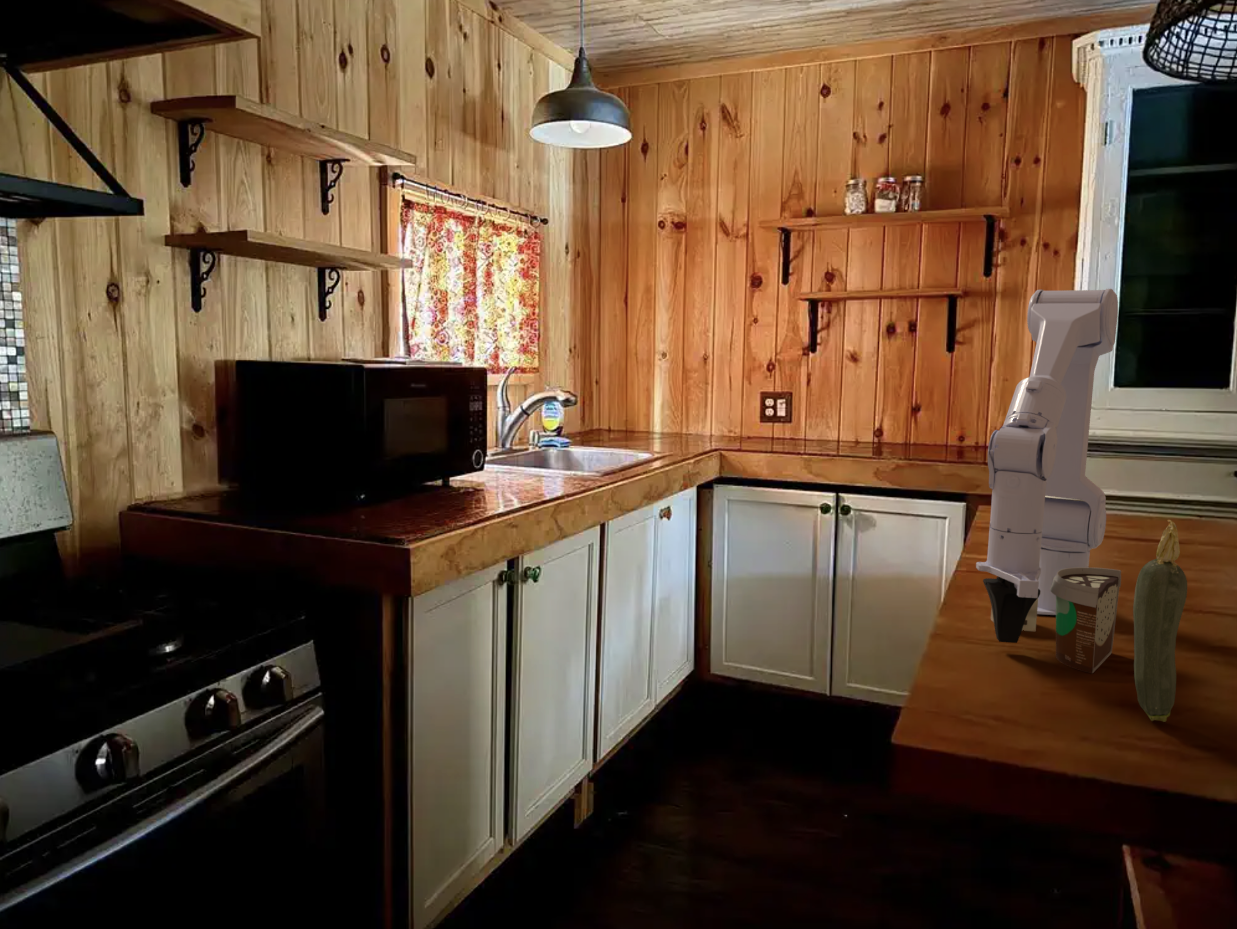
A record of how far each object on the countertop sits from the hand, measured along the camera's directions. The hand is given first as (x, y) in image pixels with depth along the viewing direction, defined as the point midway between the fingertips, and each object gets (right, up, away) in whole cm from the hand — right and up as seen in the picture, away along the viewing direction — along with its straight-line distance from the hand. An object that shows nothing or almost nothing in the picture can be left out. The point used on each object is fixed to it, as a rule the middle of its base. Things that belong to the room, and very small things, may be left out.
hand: (1006, 640), depth 112 cm
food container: (+8, -2, -1) cm, 8 cm away
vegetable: (+6, -4, -20) cm, 21 cm away
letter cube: (+5, 0, +11) cm, 12 cm away
